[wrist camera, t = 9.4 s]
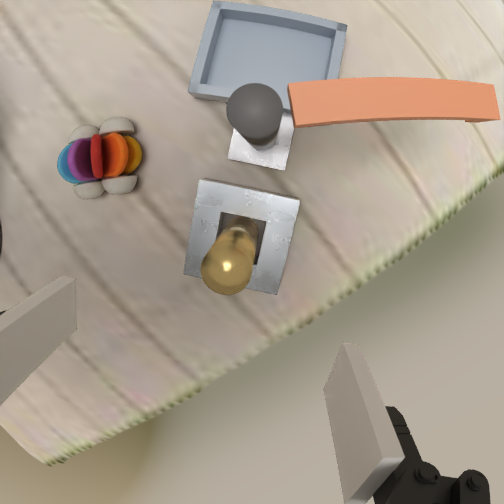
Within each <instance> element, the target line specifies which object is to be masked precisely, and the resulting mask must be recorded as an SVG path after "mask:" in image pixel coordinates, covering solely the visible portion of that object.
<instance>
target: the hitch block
mask: <svg viewBox="0 0 504 504" xmlns="http://www.w3.org/2000/svg"><path fill="white" fill-rule="evenodd" d="M299 204H300V200H299V199H298V198H296V197H292V196H288V195H283V194H279V193H274V192H270V191H265V190H261V189H256V188H252V187H247V186H242V185H237V184H233V183H228V182H223V181H218V180H213V179H207V178H204V179H200V180H199V185H198V190H197V195H196V201H195V206H194V212H193V218H192V224H191V229H190V235H189V242H188V248H187V254H186V261H185V267H184V274H185V275H189V276H193V277H197V278H202V276H201V263H202V260H203V258H204V256H205V255H206V253H207V252H208V251H209V249H210V248H211V246H212V245H213V244H214V242H215V241H216V239H217V238H218V237H219V235H220V231H221V226H222V221H223V216H224V212H226V213H230V214H235V215H240V216H244V217H249V218H253V219H258V220H263V221H266V224H265V229H264V233H263V238H262V242H261V246H260V251H259V255H258V257H254V263H253V268H252V274H251V279H250V281H249V283H248V285H247V286H246V287H245V288H246V289H251V290H255V291H260V292H265V293H269V294H274V295H277V292H278V288H279V285H280V281H281V277H282V273H283V269H284V265H285V261H286V257H287V253H288V249H289V245H290V241H291V237H292V233H293V229H294V225H295V221H296V216H297V212H298V208H299Z"/></svg>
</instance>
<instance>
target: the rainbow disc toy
mask: <svg viewBox="0 0 504 504" xmlns="http://www.w3.org/2000/svg"><path fill="white" fill-rule="evenodd" d="M134 131H135V130H134V127H133V125H132V123H131V122H130V121H129V120H128V119H127V118H124V117H113V118H110V119H108V120H106V121H105V122H104V123H103V125H102V126H101V128H100V131H99V130H98V129H97V128H96V127H94V126H92V125H84V126H80V127H78V128H76V129H75V130H74V131H73V132H72V134H71V135H70V138H69V145H67V146H66V147H65V148H64V149H63V150H62V152H61V153H60V155H59V158H58V163H57V168H58V171H59V173H60V175H61V176H62V177H63V178H64V179H65V180H66V181H68V182H70V183H74V184H76V183H78V184H77V185H74V186H73V189H74V192H75V194H76V195H77V196H78V197H79V198H81V199H83V200H85V199H91V198H97V197H99V196H100V195H101V194H102V193H103V192H104V190H106V191H107V192H108V193H110V194H112V195H115V194H123V193H128V192H130V191H131V190H132V189H133V188H134V186H135V184H136V182H137V176H136V175H131V176H126V175H127V174H129V173H131V172H133V171H134V170H135V169H136V168H137V167H138V165H139V164H140V161H141V159H142V150H141V147H140V145H139V143H138V142H137V141H136V140H135V139H134V138H132V137H130V136H129V134H132V133H134ZM103 177H104V178H103ZM101 178H103V179H102V180H100V179H101Z"/></svg>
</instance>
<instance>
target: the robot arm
mask: <svg viewBox="0 0 504 504" xmlns="http://www.w3.org/2000/svg"><path fill="white" fill-rule="evenodd" d="M0 251H1V227H0ZM76 330H77V320H76V279H74V278H71V277H68V276H65V275H62V276H61V277H59V278H57V279H56V280H54V281H53V282H51V283H49V284H48V285H46V286H45V287H43V288H41V289H40V290H38V291H37V292H35V293H33V294H32V295H30V296H29V297H27V298H26V299H24V300H23V301H21V302H20V303H18V304H17V305H15V306H14V307H12V308H11V309H9V310H8V311H3V312H0V406H1V405H2V403H3V402H4V401H5V400H6V399H7V398H8V397H9V396H10V395H11V394H12V393H13V392H14V391H15V390H16V389H17V388H18V387H19V386H20V385H21V384H22V383H23V382H24V381H25V380H26V379H27V377H28V376H29V375H30V374H31V373H32V372H33V371H34V370H35V369H36V368H37V367H38V366H39V365H40V364H41V363H42V362H43V361H44V360H45V359H46V358H48V357H49V356H50V355H51V354H52V353H53V352H54V351H55V350H56V349H57V348H58V347H59V346H60V345H61V344H62V343H63V342H64V341H65V340H66V339H67V338H68V337H69V336H70V335H71V334H72V333H73V332H74V331H76ZM323 390H324V395H325V400H326V405H327V409H328V415H329V420H330V425H331V431H332V436H333V442H334V447H335V452H336V458H337V464H338V469H339V475H340V481H341V487H342V492H343V499H344V504H365V503H366V502H367V501H368V500H369V499H370V498H371V497H372V496H373V498H374V502H375V504H490V492H489V484H488V481H487V479H486V477H485V476H484V475H483V474H482V473H481V472H479V471H476V470H467V471H464V472H463V473H462V474H461V476H460V477H459V478H451V477H445V476H440V473H439V471H438V470H437V469H436V467H435V466H433V465H431V464H430V463H427V462H423V461H422V459H421V456H420V454H419V452H418V449H417V447H416V445H415V442H414V440H413V438H412V435H410V431H409V429H408V427H407V424H406V422H405V419H404V417H403V415H402V414H401V413H400V412H399V411H398V410H397V409H396V408H395V407H388V406H385V405H384V403H383V400H382V398H381V395H380V393H379V391H378V388H377V386H376V383H375V381H374V379H373V376H372V374H371V372H370V369H369V367H368V365H367V363H366V360H365V358H364V356H363V354H362V351H361V349H360V347H359V345H358V344H353V343H347V342H343V343H342V345H341V348H340V350H339V353H338V356H337V358H336V360H335V363H334V366H333V368H332V370H331V373H330V375H329V377H328V380H327V382H326V384H325V387H324V389H323Z"/></svg>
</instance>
